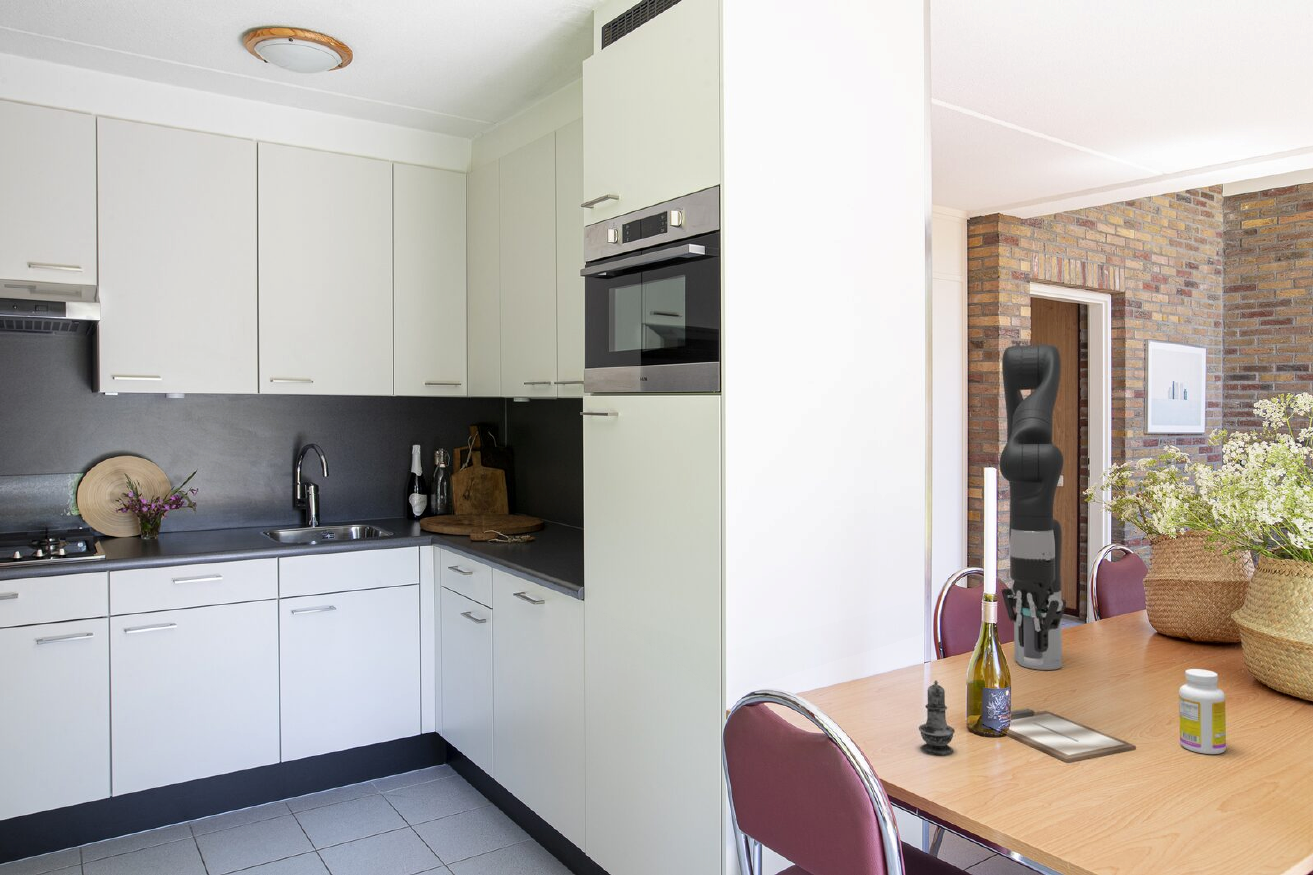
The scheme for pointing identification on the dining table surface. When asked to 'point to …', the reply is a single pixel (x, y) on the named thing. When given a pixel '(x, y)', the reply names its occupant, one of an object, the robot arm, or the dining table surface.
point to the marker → (1030, 639)
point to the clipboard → (1062, 736)
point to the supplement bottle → (1202, 713)
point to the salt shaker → (936, 724)
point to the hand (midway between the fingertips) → (1033, 648)
